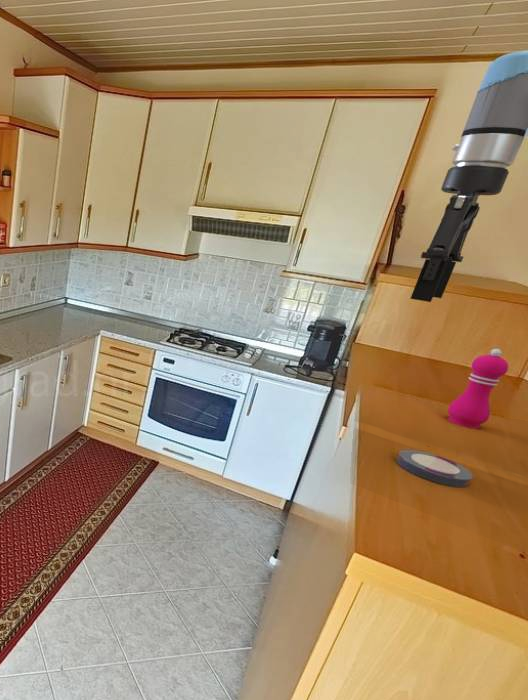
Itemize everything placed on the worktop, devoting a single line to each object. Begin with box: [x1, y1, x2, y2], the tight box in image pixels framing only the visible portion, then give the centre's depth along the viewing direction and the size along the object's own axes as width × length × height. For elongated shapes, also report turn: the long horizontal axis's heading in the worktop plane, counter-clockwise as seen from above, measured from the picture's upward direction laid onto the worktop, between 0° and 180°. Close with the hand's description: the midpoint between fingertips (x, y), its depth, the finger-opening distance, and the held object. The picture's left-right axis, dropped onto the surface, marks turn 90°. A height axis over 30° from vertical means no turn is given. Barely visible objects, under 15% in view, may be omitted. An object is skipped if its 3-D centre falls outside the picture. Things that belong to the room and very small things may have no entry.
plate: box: [395, 449, 474, 488], centre depth 91 cm, size 11×11×2 cm
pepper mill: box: [447, 348, 509, 429], centre depth 112 cm, size 7×7×20 cm
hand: (426, 298), depth 86 cm, fingers open, 13 cm apart
